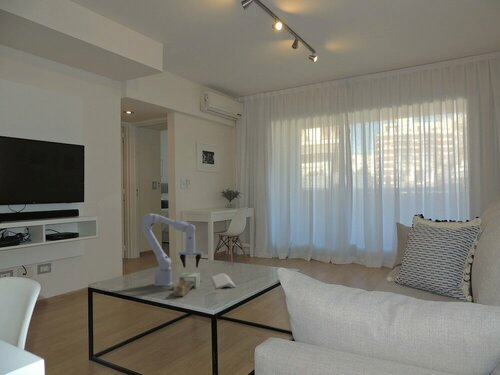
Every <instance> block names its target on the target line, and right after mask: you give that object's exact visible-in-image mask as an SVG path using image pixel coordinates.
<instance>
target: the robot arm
mask: <svg viewBox="0 0 500 375" xmlns="http://www.w3.org/2000/svg"><path fill="white" fill-rule="evenodd" d="M155 223H163V224H166V225H168V226H172V228H173V229H174V230H177V231H179V232H182V233H185V251H178V256H179V259H180V260H181V262H182V266H183V268H186V256H195V268H199V263H200V259H201V258H202V256H203V254H204V253H203V252H204V251H199V250H198V251H196V227H195V225H194V224H192V223H189V222H185V221H183V220H182V219H176V220H173V219H171V218H168V217H166V216H163V215H160V214H157V213H153V212H151V213H146V214H144V215H143V216H142V219H141V232H142V234H143V236H144V237H145V240H146V241H147V243H148V244H149V246H150V248H151V250H152V252H153V253H154V255H155V257H156V261H157V264H158V269H155V271H154V287H160V286H161V287H169V286H171V285H173V284H174V281H172V278H173V277H172V276H173V275H172V267H171V266H172V264H173V260H172V258H170V257H169V256H168V255H167V254H166V253H165V251H164V249H163V248H162V246H161V244H160V243H159V241H158V239H157V238H156V236H155V234H154V233H153V231H152V229H153V226H154V225H155Z"/></svg>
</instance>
